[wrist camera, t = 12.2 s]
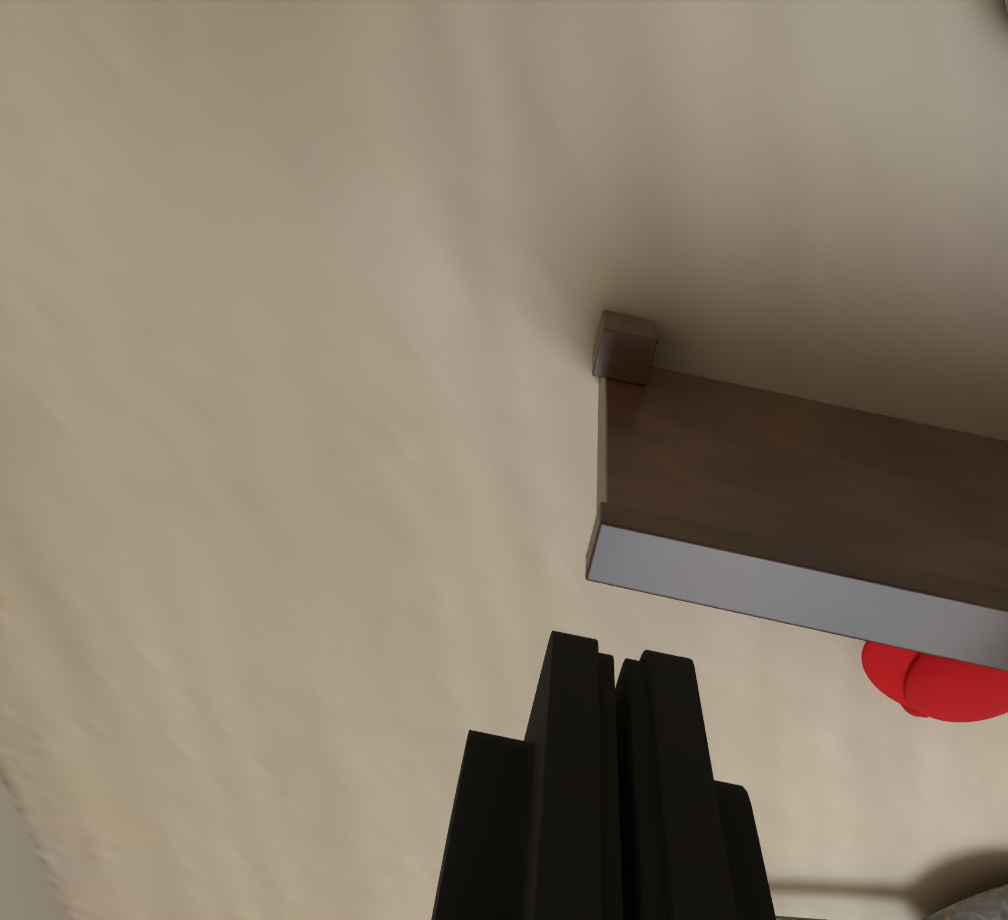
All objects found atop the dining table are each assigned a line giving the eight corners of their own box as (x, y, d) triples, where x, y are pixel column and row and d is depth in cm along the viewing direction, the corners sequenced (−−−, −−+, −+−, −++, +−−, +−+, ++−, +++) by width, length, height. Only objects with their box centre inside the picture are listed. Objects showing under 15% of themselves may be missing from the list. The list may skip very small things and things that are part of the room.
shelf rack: (536, 592, 38) (498, 871, 24) (603, 309, 33) (602, 456, 19) (1042, 702, 38) (1300, 1054, 24) (1189, 432, 33) (1628, 676, 19)
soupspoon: (1056, 948, 44) (1082, 846, 42) (1094, 1010, 41) (1124, 904, 38) (621, 931, 45) (624, 832, 43) (625, 989, 42) (628, 885, 40)
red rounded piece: (1037, 527, 35) (1119, 607, 29) (1027, 652, 37) (1102, 748, 31) (831, 545, 36) (872, 624, 30) (833, 664, 38) (872, 759, 33)
